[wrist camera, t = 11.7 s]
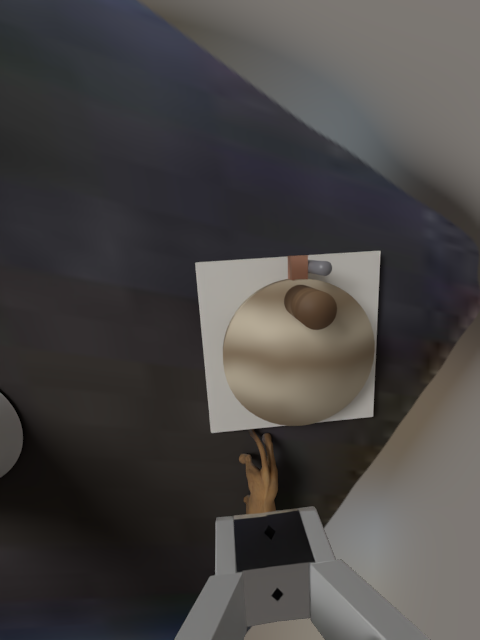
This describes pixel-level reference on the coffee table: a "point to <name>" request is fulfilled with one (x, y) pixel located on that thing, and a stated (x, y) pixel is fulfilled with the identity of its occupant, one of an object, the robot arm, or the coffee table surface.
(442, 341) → the coffee table surface
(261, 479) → the lion figurine
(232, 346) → the beige round knobbed piece
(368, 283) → the post base
